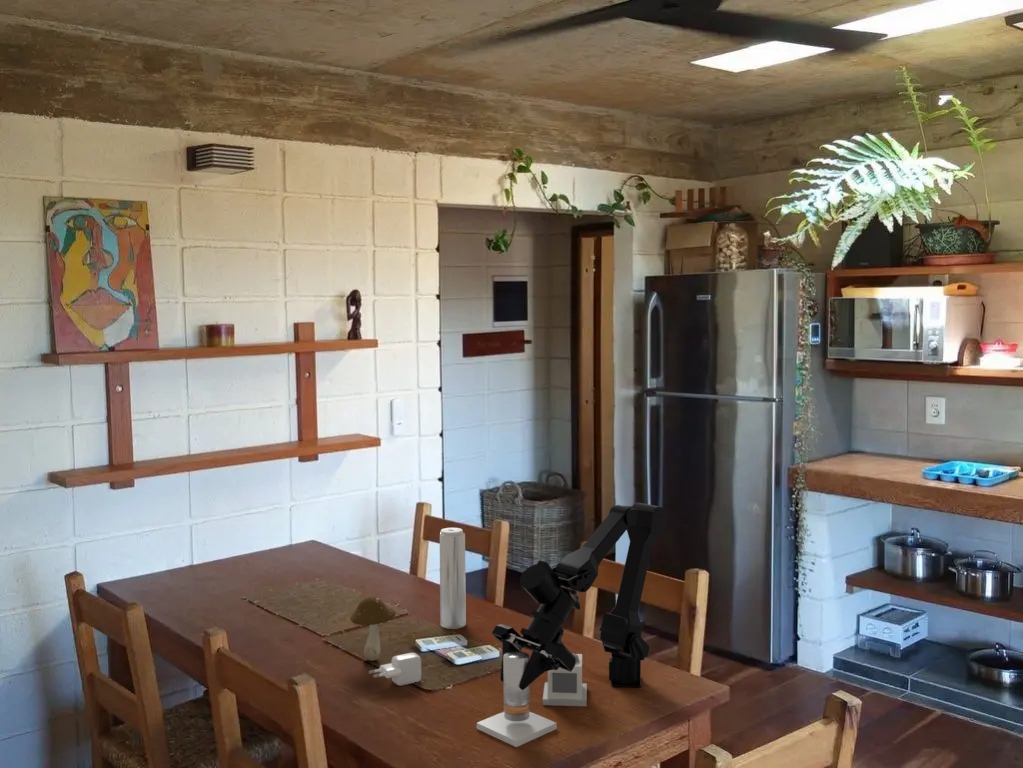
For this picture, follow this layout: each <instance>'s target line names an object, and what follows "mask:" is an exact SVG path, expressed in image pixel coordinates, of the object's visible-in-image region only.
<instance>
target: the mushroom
mask: <svg viewBox="0 0 1023 768" xmlns="http://www.w3.org/2000/svg"><path fill="white" fill-rule="evenodd" d="M396 613H397V612H396V611H395V609H394V608H392V607H390V606H388V605H386V604H385V602H384V601H383V600H382V599H381V598H379V597H378V596H373V595H371V596H366V597H364V598H363V599H362V600H361V601H359V603H358V605H357V607H356V608H355V610H354V611H353V612H351V614H350V617H349V619H350V622H352V624H355V625H359V626H369V632H368V636H367V640H366V643H365V645H364V650H363V651H364V652H363V655H364V657H365V660H368V661H371V662H372V661H376V660H378V659H379V657H380V655H381V640H380V633H379V624H383V623H387V622H390V621H391V620H393V618H394V617H395V616H396Z"/></svg>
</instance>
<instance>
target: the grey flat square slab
mask: <svg viewBox="0 0 1023 768" xmlns="http://www.w3.org/2000/svg"><path fill="white" fill-rule="evenodd" d="M557 727H558V725H557V722H555V721H553V720H550V719H548V718H546V717H543V716H542V715H539V714H536V713H534V712H531V711H530V717H529V718H528V719H527V720H524V721H517V722H516V721H509V720H507V719H505V718H504V711H502V712H500V713H497V714H494V715H492V716H490V717H486V718H485V719H483V720H480V721H477V722H476V729H477V730H478V731H481V732H482V733H485V734H487V735H489V736H491V737H494V738H495V739H498V740H500V741H502V742H504V743H506V744H508V745H510V746H513V747H514V748H517V747H520V746H522V745H524V744H527V743H529V742H531V741H533V740H535V739H537V738H539V737H542V736H544V735H546V734H548V733H551V732H553V731H555V730H557V729H558V728H557Z"/></svg>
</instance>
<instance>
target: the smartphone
mask: <svg viewBox="0 0 1023 768" xmlns="http://www.w3.org/2000/svg"><path fill="white" fill-rule="evenodd" d="M462 649H468V648H467V647H466V646H464V645H461V646H455V647H449V648H446V649H440V650H434V651H435V653H436V654H435V653H434V654H435V655H437V654H438V655H437V656H439V655H440V656H439V657H441V656H442V657H444V658H447V653H448V652H453V651H459V650H462ZM442 657H441V658H442ZM444 658H443V659H444Z"/></svg>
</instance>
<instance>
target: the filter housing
mask: <svg viewBox="0 0 1023 768" xmlns="http://www.w3.org/2000/svg"><path fill="white" fill-rule="evenodd" d="M571 653H572V654H573V655H574V656H575V658H576V664H575V666H574V668H573V670H572V671H571V672H570V671H567V670H564V669H562V668H560V667H559V668H558V670H549V671H547V681H546V682H544V686H543V694H542V706H563V707H564V706H566V707H567V706H568V707H587V701H588V700H587V699H588V698H587V695H588V694H587V693H588V689H587V688H588V685H587V684H588V683H585V682H583V654H582V653H574V652H571Z"/></svg>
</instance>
